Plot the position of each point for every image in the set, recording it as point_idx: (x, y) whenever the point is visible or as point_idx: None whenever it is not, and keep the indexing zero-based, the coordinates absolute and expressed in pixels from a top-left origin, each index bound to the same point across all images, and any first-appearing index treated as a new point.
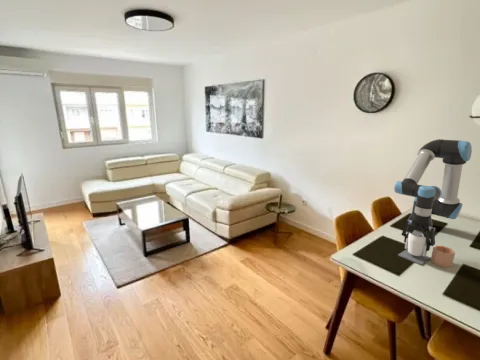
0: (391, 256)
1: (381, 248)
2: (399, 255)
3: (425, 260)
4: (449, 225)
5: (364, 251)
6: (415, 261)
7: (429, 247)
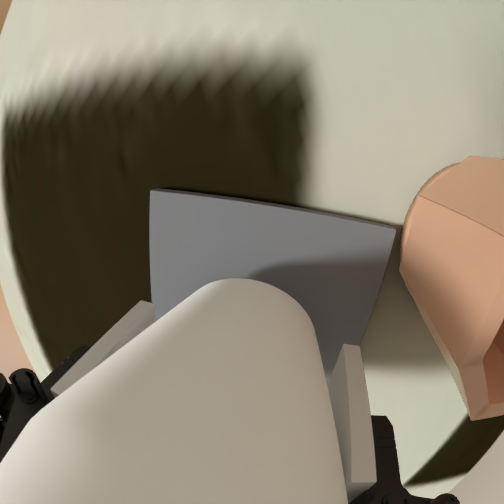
0: None
1: (68, 319)
2: None
3: (355, 339)
4: None
5: None
6: None
7: (388, 470)
